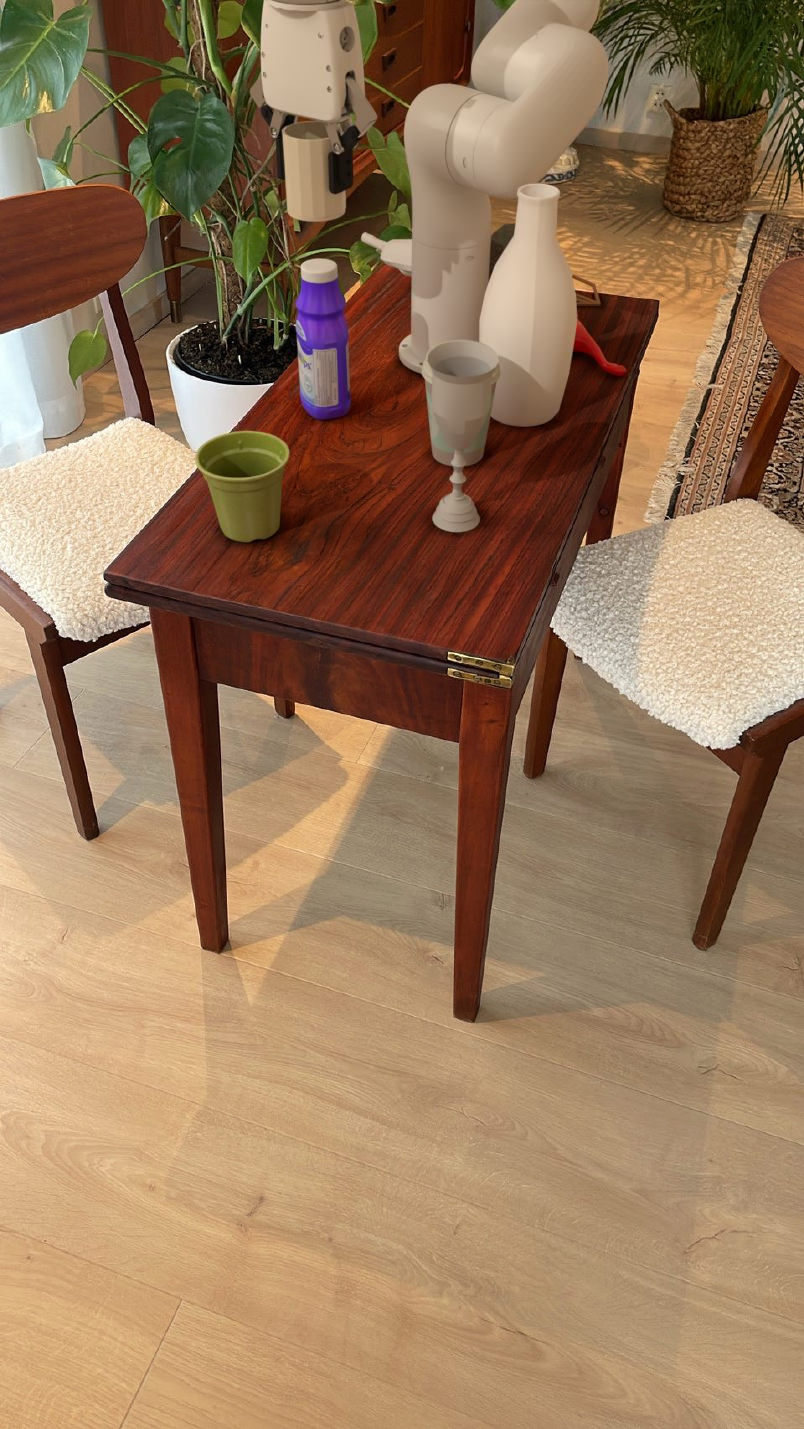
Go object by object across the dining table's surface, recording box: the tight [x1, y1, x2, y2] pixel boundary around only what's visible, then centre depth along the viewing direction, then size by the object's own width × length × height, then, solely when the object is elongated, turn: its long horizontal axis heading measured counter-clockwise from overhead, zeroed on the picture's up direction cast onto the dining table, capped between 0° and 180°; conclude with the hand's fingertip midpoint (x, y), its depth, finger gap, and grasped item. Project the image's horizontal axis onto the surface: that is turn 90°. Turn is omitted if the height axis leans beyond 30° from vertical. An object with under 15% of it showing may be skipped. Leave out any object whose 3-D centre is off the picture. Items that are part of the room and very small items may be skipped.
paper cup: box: [282, 120, 347, 223], centre depth 121 cm, size 6×6×8 cm
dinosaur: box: [572, 313, 627, 377], centre depth 149 cm, size 4×15×12 cm
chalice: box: [427, 342, 498, 533], centre depth 116 cm, size 7×7×18 cm
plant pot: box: [194, 430, 290, 543], centre depth 118 cm, size 9×9×9 cm
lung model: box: [360, 231, 412, 278], centre depth 160 cm, size 7×17×25 cm
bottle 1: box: [295, 258, 352, 421], centre depth 134 cm, size 7×6×17 cm
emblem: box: [572, 274, 602, 307], centre depth 164 cm, size 12×10×1 cm
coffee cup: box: [421, 340, 501, 467], centre depth 128 cm, size 8×8×12 cm
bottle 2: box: [479, 183, 578, 428], centre depth 131 cm, size 11×11×25 cm
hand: (315, 181), depth 121 cm, fingers closed on paper cup, 6 cm apart
